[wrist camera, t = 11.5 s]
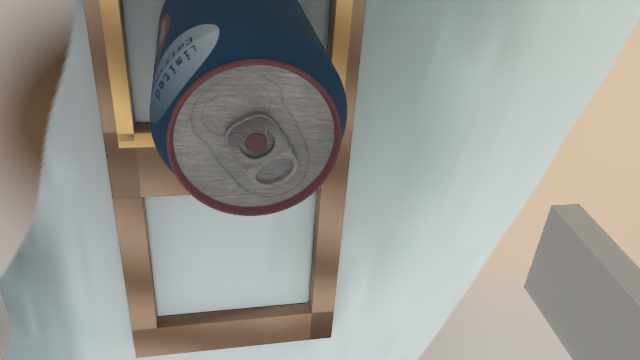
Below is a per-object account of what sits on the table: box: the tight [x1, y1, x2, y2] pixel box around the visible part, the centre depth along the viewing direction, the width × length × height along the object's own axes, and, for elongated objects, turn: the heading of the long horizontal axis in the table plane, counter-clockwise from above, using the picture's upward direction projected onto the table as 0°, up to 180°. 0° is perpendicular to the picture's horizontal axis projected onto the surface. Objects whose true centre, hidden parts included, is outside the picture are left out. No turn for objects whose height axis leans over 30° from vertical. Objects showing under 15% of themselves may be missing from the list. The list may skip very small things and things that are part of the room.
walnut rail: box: [83, 0, 366, 358], centre depth 32 cm, size 29×13×1 cm, turn 177°
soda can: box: [150, 0, 347, 216], centre depth 24 cm, size 7×7×12 cm
